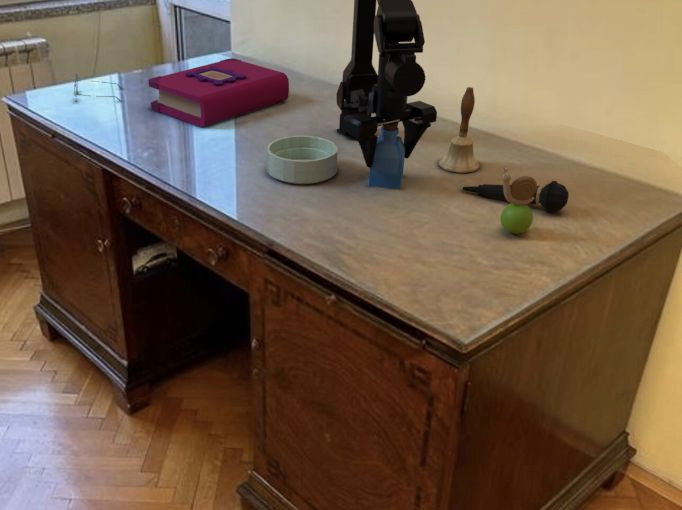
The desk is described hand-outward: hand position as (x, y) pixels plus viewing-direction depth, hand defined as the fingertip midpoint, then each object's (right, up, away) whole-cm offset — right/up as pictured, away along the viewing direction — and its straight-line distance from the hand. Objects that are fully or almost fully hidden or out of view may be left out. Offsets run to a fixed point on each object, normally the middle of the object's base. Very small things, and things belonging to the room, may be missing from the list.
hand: (387, 162), depth 151 cm
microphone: (+24, -9, -5) cm, 26 cm away
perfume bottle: (0, -3, +3) cm, 4 cm away
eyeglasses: (-69, +28, +46) cm, 88 cm away
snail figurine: (+20, -16, -16) cm, 30 cm away
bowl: (-17, 0, +6) cm, 18 cm away
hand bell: (+16, +1, +9) cm, 19 cm away
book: (-37, +24, +41) cm, 60 cm away
